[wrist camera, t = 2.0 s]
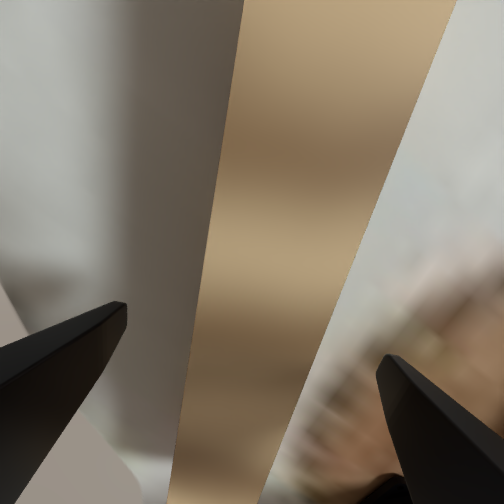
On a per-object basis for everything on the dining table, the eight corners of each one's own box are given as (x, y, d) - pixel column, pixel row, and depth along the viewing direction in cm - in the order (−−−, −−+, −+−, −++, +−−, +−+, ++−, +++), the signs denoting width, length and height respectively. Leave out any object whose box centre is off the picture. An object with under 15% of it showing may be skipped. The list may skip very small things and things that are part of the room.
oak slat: (245, 446, 18) (238, 549, 14) (187, 435, 18) (161, 536, 13) (409, -73, 8) (594, -345, 4) (284, -107, 8) (311, -435, 3)
